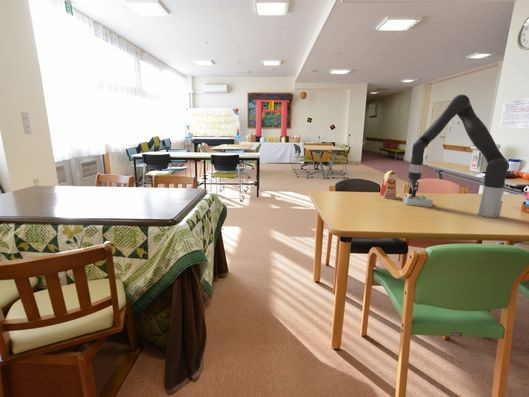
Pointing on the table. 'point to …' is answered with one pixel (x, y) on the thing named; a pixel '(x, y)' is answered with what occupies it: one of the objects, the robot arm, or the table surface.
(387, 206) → the table surface
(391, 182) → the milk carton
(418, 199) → the ball
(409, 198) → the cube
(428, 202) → the bin
